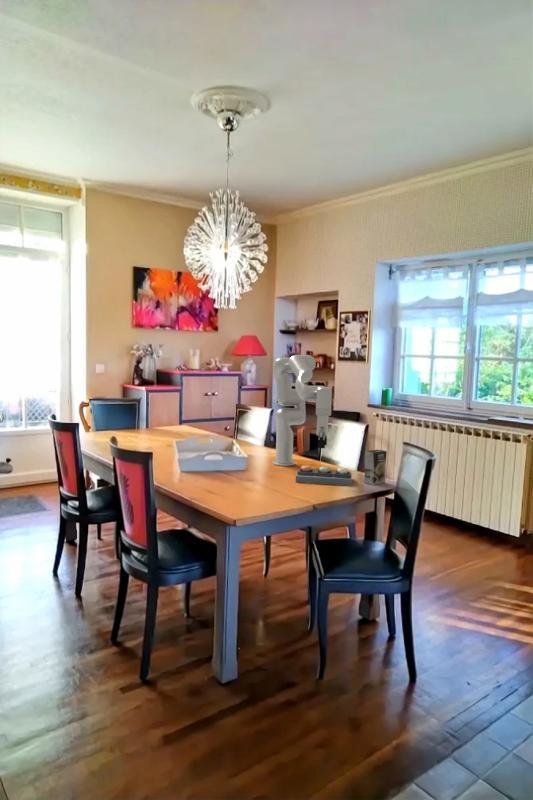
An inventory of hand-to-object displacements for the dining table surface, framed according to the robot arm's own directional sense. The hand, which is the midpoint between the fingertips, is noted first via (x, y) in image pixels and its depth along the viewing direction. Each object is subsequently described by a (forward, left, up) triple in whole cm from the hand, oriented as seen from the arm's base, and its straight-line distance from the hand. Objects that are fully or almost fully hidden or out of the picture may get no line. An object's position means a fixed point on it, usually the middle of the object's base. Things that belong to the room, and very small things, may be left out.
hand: (322, 446), depth 263 cm
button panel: (-1, +1, -17) cm, 17 cm away
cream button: (-1, +10, -13) cm, 17 cm away
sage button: (-1, +1, -13) cm, 13 cm away
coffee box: (-3, +26, -18) cm, 32 cm away
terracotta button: (-1, -8, -13) cm, 15 cm away
